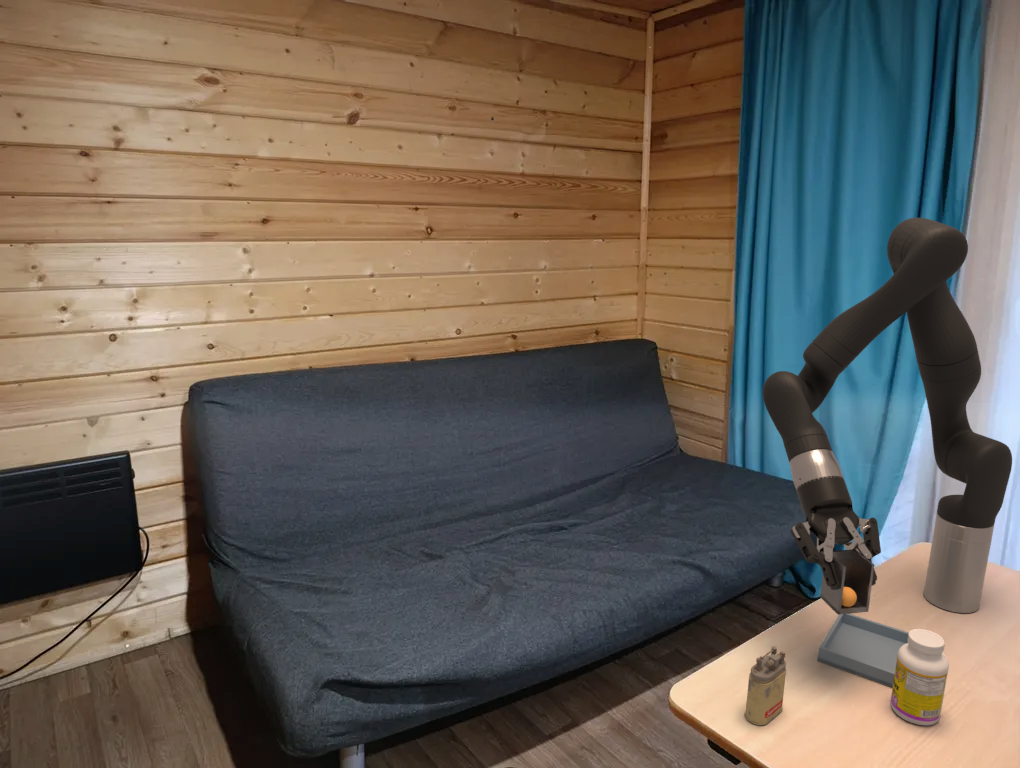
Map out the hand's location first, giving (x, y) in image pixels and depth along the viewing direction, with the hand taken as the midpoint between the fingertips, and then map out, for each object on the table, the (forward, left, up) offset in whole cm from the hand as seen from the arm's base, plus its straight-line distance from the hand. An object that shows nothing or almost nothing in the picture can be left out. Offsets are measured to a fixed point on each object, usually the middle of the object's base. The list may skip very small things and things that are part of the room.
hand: (853, 586), depth 112 cm
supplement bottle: (0, +10, -18) cm, 21 cm away
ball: (0, -1, -2) cm, 2 cm away
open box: (-1, -1, -4) cm, 5 cm away
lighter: (+13, -8, -18) cm, 24 cm away
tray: (-12, +1, -18) cm, 21 cm away
